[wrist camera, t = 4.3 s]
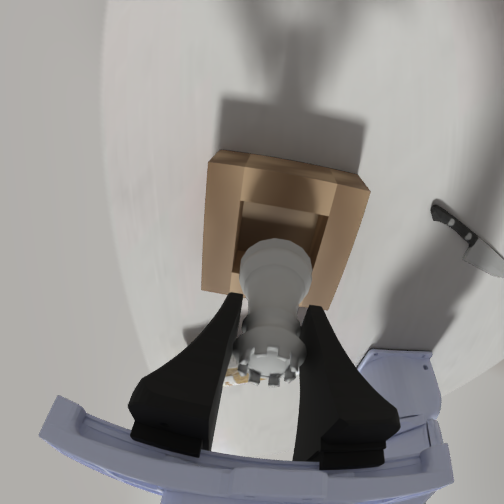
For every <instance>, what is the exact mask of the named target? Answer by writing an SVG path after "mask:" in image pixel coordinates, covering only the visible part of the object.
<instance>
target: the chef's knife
mask: <svg viewBox="0 0 504 504" xmlns="http://www.w3.org/2000/svg"><path fill="white" fill-rule="evenodd" d="M431 214H432V218H433V221H440V222H442V223H444V224H447V225H448V226H449V227H451V228H452V229H453V230H455V231H456V232H457V233H458V234H459V235H460V236H461V237H462V238H463V239H465V240H466V241H467V242H468V243H469V248H468V250H467V251H466V253H465V255H464V257H463V259H462V260H464V261H466V262H468V263H470V264H472V265H473V266H475V267H477V268H479V269H481V270H483V271H485V272H486V273H488V274H490V275H492V276H496V277H502V278H504V259H503V258H502V257H501V256H500V255H499V254H497V253H496V252H495V251H494V250H493V249H492V248H491V247H490V246H489V245H488V244H486V243H485V242H484V241H483V240H482V239H481V238H480V237H478V236H477V235H476V234H475V233H473V232H472V231H471V230H470V229H468V228H467V227H466V226H465V225H464V224H462V223H461V222H460V221H459V220H457V219H456V218H455V217H453V216H452V215H451V214H450V213H448V212H447V211H446V210H444V209H443V208H441V207H439V206H437V205H434V206H433V207H432V208H431Z"/></svg>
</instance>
